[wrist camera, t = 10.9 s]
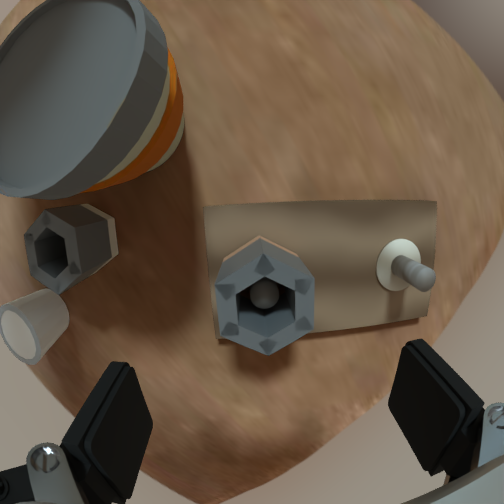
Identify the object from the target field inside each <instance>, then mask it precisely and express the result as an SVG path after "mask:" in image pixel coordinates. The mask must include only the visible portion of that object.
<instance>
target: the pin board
mask: <svg viewBox="0 0 504 504" xmlns="http://www.w3.org/2000/svg"><path fill="white" fill-rule="evenodd" d="M203 212H204V226H205V238H206V250H207V261H208V272H209V282H210V291H211V301H212V310H213V319H214V327H215V335H216V339H225V338H224V337H222V336H220V329H219V321H218V312H217V303H216V294H215V285H214V284H215V282H216V279H217V276H218V273H219V270H220V268H221V265H222V262H223V259H224V258H225V257H227V256H228V255H230V254H231V253H233V252H234V251H236V250H237V249H239V248H240V247H242V246H243V245H245V244H246V243H248V242H249V241H251V240H252V239H254V238H255V237H257V236H259V235H260V236H262V237H264V238H266V239H268V240H270V241H272V242H274V243H276V244H278V245H280V246H282V247H284V248H286V249H288V250H290V251H292V252H294V253H296V254H297V255H298V257H299V258H300V259H301V261H302V262H303V263H304V265H305V266H306V267H307V269H308V270H309V271H310V273H311V274H312V275H313V277H314V278H315V289H314V330H312V331H310V332H309V333H315V332H325V331H334V330H342V329H350V328H358V327H365V326H372V325H378V324H385V323H391V322H397V321H403V320H409V319H414V318H419V317H425V316H427V313H428V307H429V301H430V294H431V288H432V287H433V285H434V283H435V279H436V276H435V272H434V271H433V268H434V257H435V243H436V220H437V201H424V200H324V201H292V202H268V203H249V204H233V205H218V206H205V207H203ZM282 286H283V285H282V284H280V283H278V282H276V281H273V280H271V279H269V278H267V277H265V276H264V277H263V278H261V279H260V280H258V281H256V282H255V283H253V284H252V285H250V286H248V287H247V288H245V289H244V291H247V292H249V293H250V298H251V301H252V303H253V304H254V305H255V306H256V307H258V308H262V309H267V308H270V307H272V306H274V305H275V304H276V303H277V301H278V299H279V291H278V289H279V288H281V287H282Z"/></svg>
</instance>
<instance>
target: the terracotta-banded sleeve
mask: <svg viewBox="0 0 504 504" xmlns="http://www.w3.org/2000/svg"><path fill="white" fill-rule="evenodd" d="M264 276H265V277H267V278H269V279H271V280H273V281H276V282H278V283H280V284H282V285H283V286H282V287H281V288H279V289H278V291H279V299H278V301H277V303H276V304H275V305H274V306H272V307H270V308H267V309H262V308H258V307H256V306H255V305H254V304H253V303H252V301H251V298H250V293H249V292H247V291H244V289H245V288H247V287H248V286H250V285H252V284H253V283H255V282H256V281H258V280H260V279H261V278H263V277H264ZM214 285H215V294H216V303H217V312H218V321H219V329H220V336H222V337H224V338H227V339H229V340H231V341H233V342H236V343H238V344H241V345H243V346H245V347H248V348H250V349H253V350H255V351H258V352H260V353H263V354H265V355H268V356H269V355H271V354H273V353H274V352H276V351H278V350H280V349H281V348H283V347H285V346H287V345H288V344H290V343H292V342H293V341H295V340H297V339H299V338H300V337H302V336H304V335H305V334H307V333H309V332H310V331H312V330H314V289H315V278H314V277H313V275H312V274H311V273H310V271H309V270H308V269H307V267H306V266H305V265H304V263H303V262H302V261H301V259H300V258H299V257H298V255H297V254H296V253H294V252H292V251H290V250H288V249H286V248H284V247H282V246H280V245H278V244H276V243H274V242H272V241H270V240H268V239H266V238H264V237H262V236H260V235H259V236H257V237H255V238H254V239H252V240H251V241H249V242H248V243H246V244H245V245H243V246H242V247H240V248H239V249H237V250H236V251H234V252H233V253H231V254H230V255H228V256H227V257H225V258H224V259H223V262H222V265H221V268H220V270H219V273H218V276H217V279H216V282H215V284H214Z"/></svg>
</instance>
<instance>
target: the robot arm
mask: <svg viewBox="0 0 504 504" xmlns="http://www.w3.org/2000/svg"><path fill="white" fill-rule="evenodd" d="M483 405H484V402H483V401H482V399H481V398H480V397H479V396H478V395H477V394H476V393H475V392H474V391H473V390H472V389H471V388H470V386H469V385H468V384H467V383H466V382H465V381H464V380H463V379H462V378H461V377H460V376H459V375H458V374H457V373H456V372H455V371H454V370H453V369H452V368H451V367H450V366H449V365H448V364H447V363H446V362H445V361H444V360H443V359H442V358H441V357H440V356H439V355H438V354H437V353H436V352H435V351H434V350H433V349H432V348H431V347H430V346H429V345H428V344H427V343H426V342H425V341H424V340H423V339H417V340H413V341H408V342H407V343H406V345H405V346H404V347H403V348H402V350H401V355H400V359H399V363H398V367H397V371H396V375H395V379H394V383H393V386H392V390H391V393H390V397H389V401H388V406H389V409H390V411H391V413H392V415H393V416H394V418H395V420H396V421H397V423H398V425H399V427H400V429H401V430H402V432H403V434H404V436H405V437H406V439H407V440H408V443H409V444H410V446H411V448H412V450H413V452H414V453H415V455H416V457H417V459H418V461H419V463H420V464H421V466H422V468H423V469H424V470H425V471H428V472H429V474H430V476H433V475H435V474H437V473H440V472H441V471H443V470H444V471H445V472H446V477H445V481H444V484H443V486H442V487H439V488H437V489H435V490H433V491H431V492H429V493H427V494H424V495H422V496H420V497H417V498H415V499H412V500H410V501H407V502H404V503H402V504H504V403H494V404H491V405H489V406H488V407H487V408H486V410H484V408H483ZM152 428H153V421H152V418H151V415H150V413H149V410H148V407H147V405H146V402H145V399H144V396H143V394H142V391H141V388H140V385H139V382H138V379H137V376H136V373H135V370H134V368H133V367H130V365H129V364H128V363H127V362H114V361H113V362H111V363H110V364H109V366H108V367H107V369H106V370H105V372H104V373H103V375H102V376H101V378H100V379H99V381H98V383H97V384H96V386H95V387H94V389H93V390H92V392H91V393H90V395H89V397H88V398H87V400H86V401H85V403H84V405H83V406H82V408H81V409H80V411H79V413H78V414H77V416H76V418H75V419H74V421H73V423H72V424H71V426H70V428H69V429H68V431H67V433H66V434H65V436H64V438H63V440H62V443H61V445H60V446H58V445H56V444H54V443H48V442H47V443H41V444H38V445H36V446H35V447H33V448H32V449H31V450H30V451H29V453H28V455H27V458H26V459H27V460H26V462H27V464H26V465H22V466H19V467H16V468H12V469H8V470H4V471H1V472H0V504H111V503H112V502H114V503H117V504H125V502H126V499H130V498H131V496H132V493H133V489H134V486H135V483H136V479H137V476H138V473H139V470H140V466H141V463H142V460H143V456H144V453H145V450H146V447H147V444H148V441H149V437H150V434H151V431H152Z"/></svg>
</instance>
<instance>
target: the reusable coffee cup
mask: <svg viewBox="0 0 504 504" xmlns="http://www.w3.org/2000/svg"><path fill="white" fill-rule="evenodd" d="M183 129H184V114H183V94H182V89H181V85H180V81H179V77H178V74H177V70H176V66H175V63H174V59H173V57H172V55H171V53H170V51H169V49H168V47H167V43H166V37H165V34H164V32H163V30H162V28H161V26H160V24H159V22H158V21H157V19H156V18H155V17H154V16H153V15H152V14H151V13H150V11H149V10H148V9H147V8H146V7H145V6H144V5H143V4H142V3H141V1H140V0H46V1H45V2H43V3H42V4H40V5H39V6H38V7H36V8H35V9H34V10H33V11H31V12H30V13H29V14H28V15H27V16H26V17H25V18H24V19H22V20H21V21H20V23H19V24H18V25H17V26H16V27H15V28H14V29H13V30H12V31H11V33H10V34H9V35H8V36H7V38H6V39H5V40H4V42H3V43H2V44H1V46H0V193H1V194H3V195H6V196H10V197H21V198H35V199H47V200H56V199H61V198H67V197H71V196H73V195H75V194H78V193H86V192H92V191H97V190H100V189H104V188H107V187H111V186H114V185H118V184H121V183H124V182H127V181H130V180H132V179H135V178H137V177H138V176H140V175H142V174H143V173H145V172H148V171H151V170H153V169H155V168H157V167H159V166H160V165H161V164H163V163H164V162H165V161H166V160H168V158H169V157H170V156H171V155H172V154H173V153H174V151H175V150H176V148H177V146H178V145H179V142H180V140H181V137H182V135H183Z"/></svg>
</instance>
